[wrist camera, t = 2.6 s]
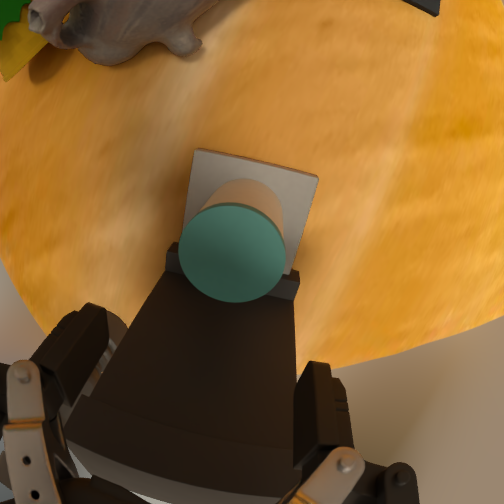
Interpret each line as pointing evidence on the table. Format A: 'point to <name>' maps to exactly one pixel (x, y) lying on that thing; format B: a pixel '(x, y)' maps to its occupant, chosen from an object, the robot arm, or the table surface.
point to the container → (235, 243)
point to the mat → (426, 5)
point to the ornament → (16, 37)
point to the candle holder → (115, 337)
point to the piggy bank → (118, 26)
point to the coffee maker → (203, 373)
